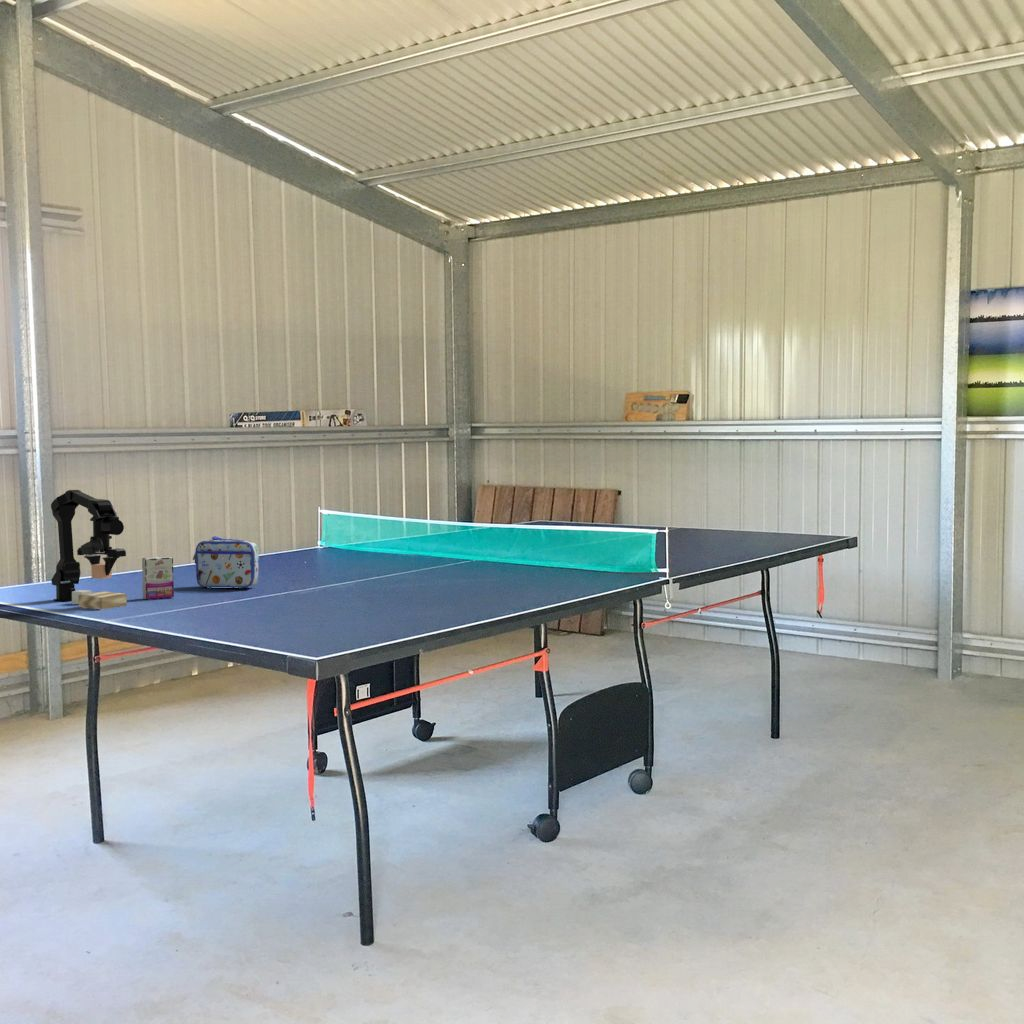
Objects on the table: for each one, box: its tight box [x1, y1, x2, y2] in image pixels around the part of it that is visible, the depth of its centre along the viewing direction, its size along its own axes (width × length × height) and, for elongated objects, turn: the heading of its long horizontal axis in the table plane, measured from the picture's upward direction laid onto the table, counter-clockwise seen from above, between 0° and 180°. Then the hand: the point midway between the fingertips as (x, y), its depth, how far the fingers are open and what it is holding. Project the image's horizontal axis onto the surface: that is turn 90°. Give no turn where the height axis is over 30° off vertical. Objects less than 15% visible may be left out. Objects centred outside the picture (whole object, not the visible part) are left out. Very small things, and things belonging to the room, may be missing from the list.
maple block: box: [78, 590, 128, 611], centre depth 404 cm, size 12×12×5 cm
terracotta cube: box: [90, 563, 113, 580], centre depth 403 cm, size 5×5×5 cm
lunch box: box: [192, 535, 260, 589], centre depth 459 cm, size 28×10×22 cm, turn 84°
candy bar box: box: [141, 556, 175, 600], centre depth 426 cm, size 11×5×16 cm, turn 126°
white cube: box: [71, 589, 93, 605], centre depth 410 cm, size 5×5×5 cm
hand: (101, 574), depth 403 cm, fingers closed on terracotta cube, 5 cm apart
